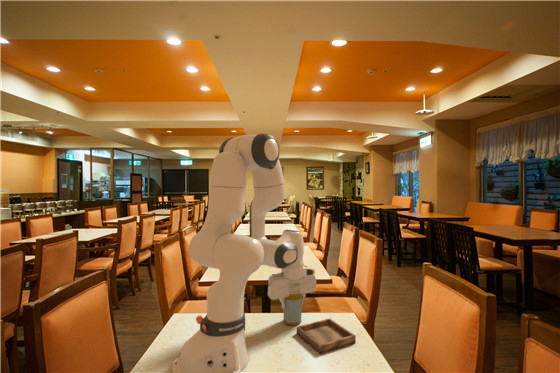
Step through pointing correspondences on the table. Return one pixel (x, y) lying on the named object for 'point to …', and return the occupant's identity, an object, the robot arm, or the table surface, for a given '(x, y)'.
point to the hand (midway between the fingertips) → (292, 306)
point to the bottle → (293, 306)
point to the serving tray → (325, 335)
